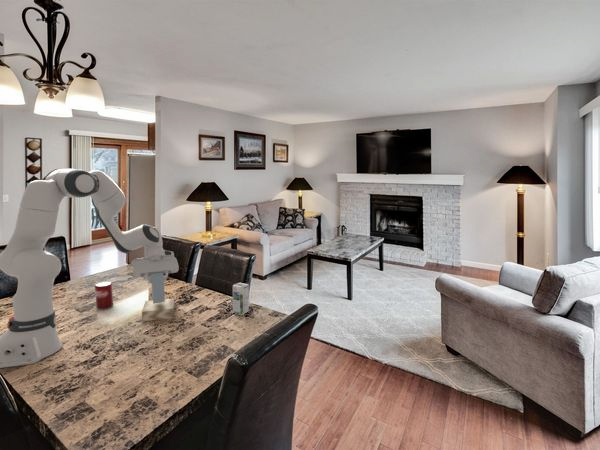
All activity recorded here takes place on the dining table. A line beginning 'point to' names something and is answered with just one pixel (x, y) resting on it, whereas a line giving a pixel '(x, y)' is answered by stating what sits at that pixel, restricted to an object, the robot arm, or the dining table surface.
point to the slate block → (158, 287)
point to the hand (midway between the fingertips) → (157, 281)
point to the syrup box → (240, 298)
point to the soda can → (104, 295)
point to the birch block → (158, 310)
